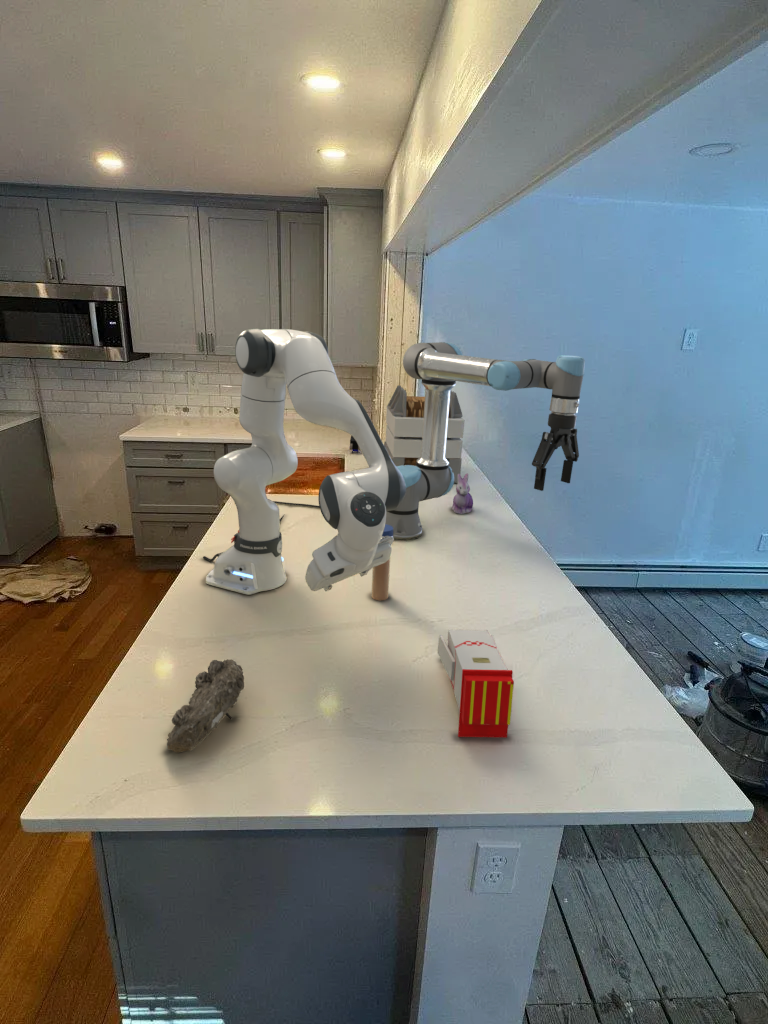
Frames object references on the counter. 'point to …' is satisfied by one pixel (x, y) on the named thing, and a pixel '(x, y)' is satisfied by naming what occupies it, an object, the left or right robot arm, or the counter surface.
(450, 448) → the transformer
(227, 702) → the fossil
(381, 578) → the jar
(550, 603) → the counter surface
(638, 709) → the counter surface
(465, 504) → the figurine
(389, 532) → the lid
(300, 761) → the counter surface
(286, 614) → the counter surface
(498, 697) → the toy
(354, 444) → the figurine character
